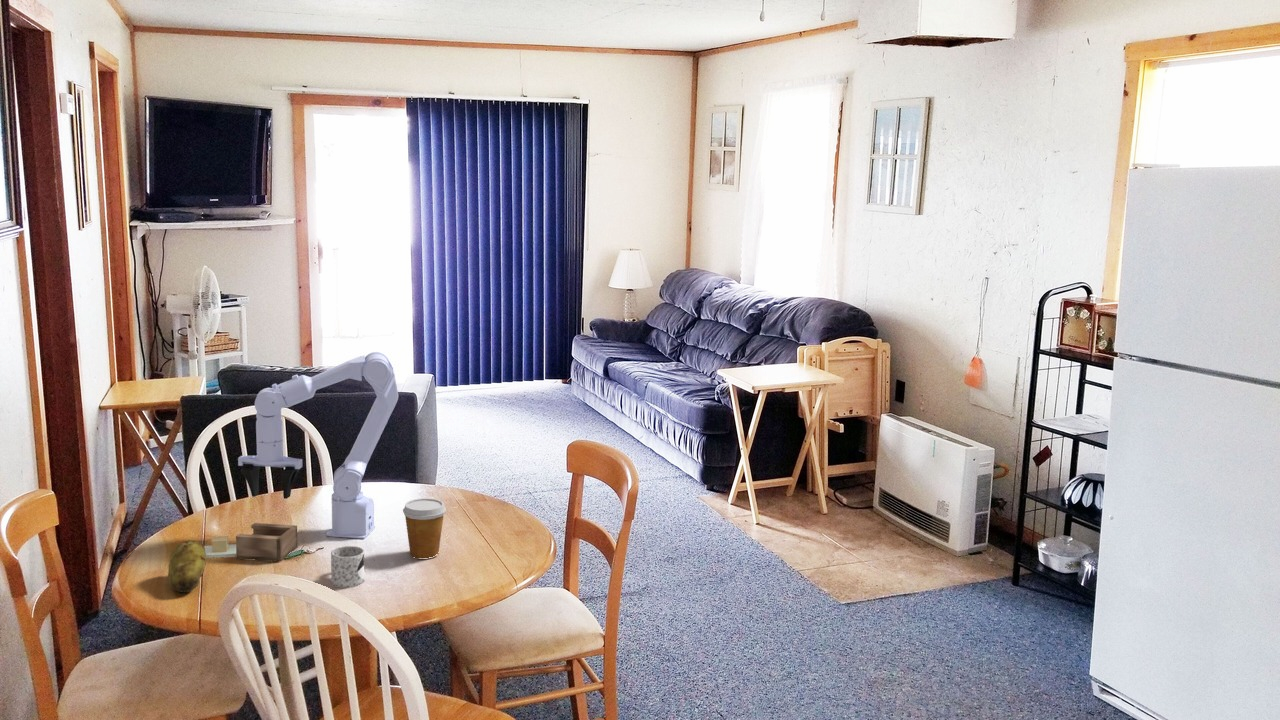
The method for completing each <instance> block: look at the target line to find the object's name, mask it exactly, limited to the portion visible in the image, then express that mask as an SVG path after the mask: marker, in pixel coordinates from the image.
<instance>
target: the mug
mask: <svg viewBox="0 0 1280 720" xmlns="http://www.w3.org/2000/svg"><path fill="white" fill-rule="evenodd" d="M330 559H331V560H330V568H331V569H330V570H331V575H330V576H331V585H332V586H333V587H335V586H336V588H339V587H340V588H341V589H350V588H349V587H351V588H355V587H359V586H360V584H361V585H362V584H364V582H365V550H364V548H363V547H361V546H355V545H354V546H353V545H348V546H347V545H346V546H341V547H336V548H334V549H333V550H331V553H330ZM358 585H359V586H358ZM340 588H339V589H340Z"/></svg>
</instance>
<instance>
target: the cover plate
mask: <svg viewBox="0 0 1280 720" xmlns="http://www.w3.org/2000/svg"><path fill="white" fill-rule="evenodd" d="M204 547H205V553H206V556H207V559H219V558H220V557H224V558H236V557H235V556H236V543H235V544H229V535H225V536H224V535H220V536H213V538H212V540H211V545H204ZM209 557H211V558H209ZM213 557H214V558H213ZM216 557H218V558H216Z"/></svg>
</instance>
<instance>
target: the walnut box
mask: <svg viewBox="0 0 1280 720" xmlns="http://www.w3.org/2000/svg"><path fill="white" fill-rule="evenodd" d="M250 528H251V529H252V531H253V532H252V534H248V533H247V534H246V533H245V534H244V533H239V534H237V535H236V536H235V544H236V557H235V558H236V560H245V559H255V560H254V561H261V560H262V562H263V561H265V562H276V563H277V562H280V563H281V562H282V561H283V560H285V559H286V558H287V557H288V556H289V555H290V554H291V553H293V552H294V551H295V550H296V549H298V525H291V524H276V523H275V524H274V523H261V522H254V523H253V524H251V526H250ZM292 551H293V552H292ZM290 552H291V553H290ZM289 553H290V554H289ZM288 554H289V555H288ZM287 555H288V556H287ZM286 556H287V557H286Z"/></svg>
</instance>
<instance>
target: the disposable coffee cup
mask: <svg viewBox="0 0 1280 720" xmlns="http://www.w3.org/2000/svg"><path fill="white" fill-rule="evenodd" d="M402 512H403V514H404V517H405V524H406V525H405V526H406V532H407V540H408V547H409V548H408V549H409V554H410V555H411V556H412V557H415V558H429V557H433V556H435V555H436V554H438V555H439V553H438V552H439V551H440V545H441V537H442V530H443V522H444V515H445V512H447V508H446V506H445V503H444V502H443V501H442V500H440V499H436V498H417V499H412V500H409V501H407V502H406V503H405V505H404V508H403V509H402ZM411 556H410V557H411ZM415 558H414V559H415Z"/></svg>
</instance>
